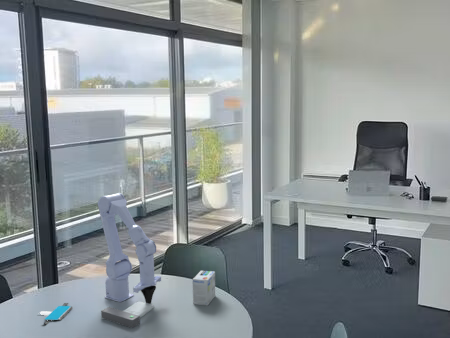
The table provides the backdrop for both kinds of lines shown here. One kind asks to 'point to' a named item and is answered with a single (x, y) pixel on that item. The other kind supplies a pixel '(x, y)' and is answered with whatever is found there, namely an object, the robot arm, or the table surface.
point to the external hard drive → (139, 308)
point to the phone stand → (56, 313)
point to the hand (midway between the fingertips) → (148, 303)
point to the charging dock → (120, 317)
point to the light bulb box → (204, 287)
